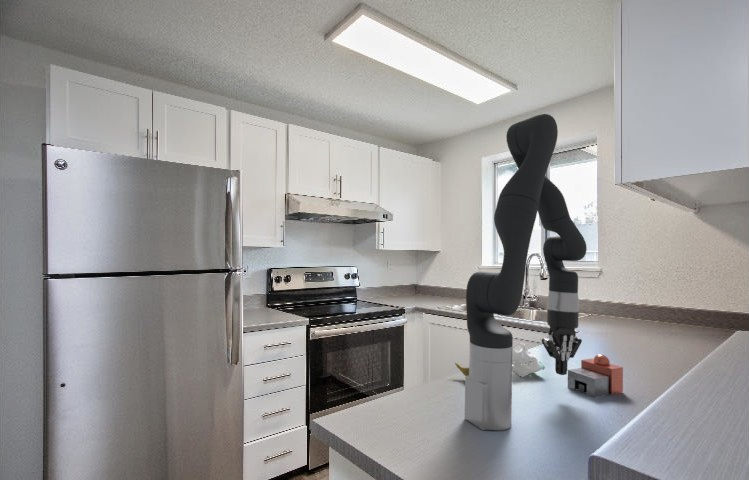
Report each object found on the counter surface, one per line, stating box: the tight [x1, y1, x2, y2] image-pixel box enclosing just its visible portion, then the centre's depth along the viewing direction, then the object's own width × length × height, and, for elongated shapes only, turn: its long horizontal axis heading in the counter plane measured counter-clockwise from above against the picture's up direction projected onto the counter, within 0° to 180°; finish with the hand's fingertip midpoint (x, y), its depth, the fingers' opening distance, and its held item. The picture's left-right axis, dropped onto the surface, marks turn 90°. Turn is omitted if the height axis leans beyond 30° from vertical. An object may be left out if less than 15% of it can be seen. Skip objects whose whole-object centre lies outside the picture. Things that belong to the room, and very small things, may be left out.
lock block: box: [567, 367, 610, 399], centre depth 103 cm, size 6×8×5 cm
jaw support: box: [512, 342, 546, 378], centre depth 117 cm, size 12×9×10 cm
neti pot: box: [454, 362, 469, 377], centre depth 107 cm, size 4×15×6 cm, turn 44°
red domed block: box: [578, 354, 624, 396], centre depth 104 cm, size 11×9×10 cm
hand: (561, 374), depth 98 cm, fingers closed
